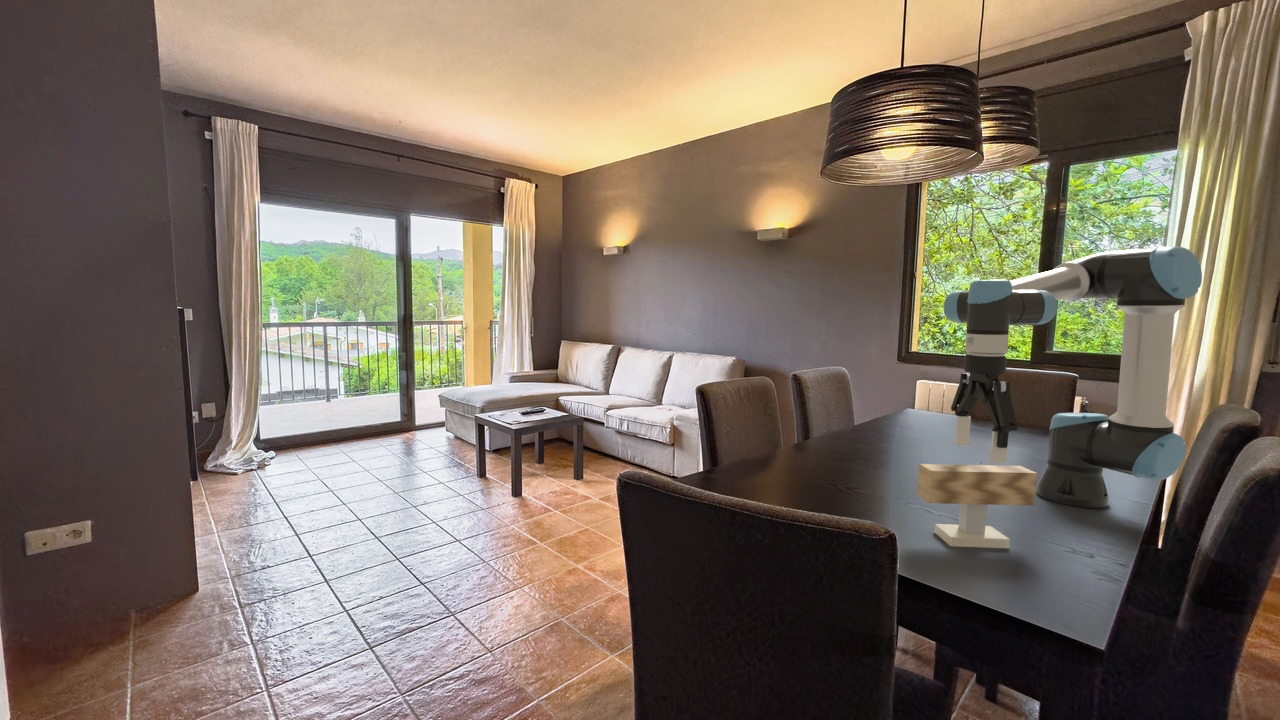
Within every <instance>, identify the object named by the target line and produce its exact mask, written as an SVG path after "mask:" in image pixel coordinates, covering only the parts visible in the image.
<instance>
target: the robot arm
mask: <svg viewBox="0 0 1280 720" xmlns="http://www.w3.org/2000/svg"><path fill="white" fill-rule="evenodd" d="M1202 281H1203V273H1202V266H1201V264H1200V261H1199V259H1198V258H1197V256H1195V254H1194V253H1193V252H1192V251H1191V250H1190V249H1188V248H1186V247H1183V246H1154V247H1145V248H1134V249H1123V250H1121V249H1120V250H1109V251H1104V252H1099V253H1095V254H1092V255H1091V254H1090V255H1087V256H1084V257H1080V258H1076V259H1073V260H1071V261H1066V262H1063V263H1061V264H1058V265H1057V266H1055V267H1054V268H1053V269H1052V270H1048V271H1044V272H1043V271H1042V272H1039V273H1036V274H1035V273H1034V274H1032V275H1028V276H1024V277H1020V278H1017V279H1016V278H1015V279H1013V280H1009V279H978V280H973V281H972V282H971V283H970V284H969V290H959V291H953V292H951V293H949V294H948V295H947V296H946V297H945V299H944V301H943V306H942V307H943V315H944V316H945V318H947V320H949V321H950V322H954V323H960V324H966V329H965V331H966V332H965V333H966V335H965V338H964V343H965V346H964V347H965V349H964V350H965V352H966V353H967V354H965V355H964V361H963V371H964V372H962V373H961V374H960V378H959V384H958V386H957V390H956V392H955V395H954V398H953V401H952V403H951V407H950V410H951V411H952V412H954V415H955V416H956V422H955V439H954V445H956V446H970V436H971V421H972V417H971V415H972V414H971V411H972V410H973V409H974V406H975V405H976V403H977V402H978V401H979V399H981V400H982V403H984V404H985V406H986V408H987V411H988V414H989V417H990V419H991V422H992V424H993V428H991V440H990V441H991V442H990V454H989V463H991V464H1007V455H1008V453H1007V452H1008V445H1009V433H1010V432H1012V431H1013V432H1016V431H1018V424H1017V418H1016V415H1015V411H1014V405H1013V402H1012V398H1011V397H1012V396H1011V383H1010V381H1008V380H1007V381H1005V380H1004V381H1003V380H1001V381H1000V378H999V377H1000V375H1004V374H1006V371H1007V361H1008V360H1007V357H1006V356H1005V355H1006V354H1007V353H1008V352H1009V351H1008V349H1009V333H1010V332H1009V330H1010V326H1032V327H1034V326H1035V327H1036V326H1038V325H1044V324H1047V323H1049V322H1050V321H1052V319H1053V318H1054V317H1055V316H1056V314H1057V311H1058V302H1057V301H1059V300H1063V301H1074V300H1079V299H1112V300H1113V299H1116V308H1117V309H1119V310H1120V311H1122V312H1123V314H1124V318H1123V330H1122V342H1121V343H1122V344H1121V357H1120V368H1119V380H1118V395H1117V406H1116V411H1115V412H1114V413H1113V414H1111V415H1110V416H1108V415H1107V414H1104V413H1092V412H1059V413H1055V414H1054V415H1053V416H1052V417H1051V421H1050V426H1049V434H1048V435H1049V438H1048V446H1047V459H1046V466H1045V468H1044V470H1043V472H1042V474H1041V475H1040V479H1039V480H1038V482H1036V490H1035V493H1036V494H1037V495H1038V496H1040V497H1042V498H1044V499H1046V500H1049V501H1052V502H1055V503H1059V504H1062V505H1065V506H1073V507H1078V508H1085V509H1087V508H1088V509H1102V508H1106V507H1108V505H1109V501H1110V495H1109V493H1108V489H1107V486H1106V484H1105V479H1104V476H1103V472H1104V470H1103V469H1107V470H1110V471H1113V472H1114V471H1115V472H1118V473H1120V474H1121V473H1122V474H1125V475H1126V474H1127V475H1129V476H1133V477H1135V478H1138V479H1145V480H1151V481H1164V480H1166V479H1168V478H1169V477H1171V476H1172V475H1173V474H1174V473H1176V471H1178V469H1179V468H1180V467H1181V465H1182V464H1183V461H1184V459H1185V456H1186V453H1187V444H1186V442H1185V439H1184V437H1182V436H1181V435H1179V434H1178V433H1174V428H1175V424H1174V422H1172V420H1171V419H1169V418H1168V417H1167V415H1166V414H1167V407H1168V406H1167V405H1168V394H1169V384H1170V382H1169V381H1170V371H1171V358H1172V349H1173V348H1172V347H1173V338H1174V337H1173V336H1174V324H1175V315H1176V314H1177V312H1178V311H1180V310H1181V309H1183V308H1185V306H1186V303H1185V302H1186V299H1187V300H1188V299H1189V298H1192V297H1194V296H1195V295H1196V294H1197V293H1198V292H1199V288H1201V286H1202Z"/></svg>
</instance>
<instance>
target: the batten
mask: <svg viewBox="0 0 1280 720" xmlns="http://www.w3.org/2000/svg"><path fill="white" fill-rule="evenodd" d="M918 465H919V466H918V467H919V468H918V481H917V482H918V483H917V492H916V493H917V494H916V495H917V496H918V497H920V498H921V499H922V500H923V501H925V502H927V503H928V504H943V505H944V504H945V505H947V504H948V505H949V504H950V505H951V504H954V505H960V504H987V505H989V506H990V505H997V506H999V505H1001V506H1003V505H1004V506H1035V499H1036V489H1037V479H1038V473H1037V472H1036V471H1033V470H1031V469H1029V468H1026V467H1024V466H1021V465H993V464H992V465H988V464H985V465H983V464H941V463H939V464H935V463H934V464H933V463H931V464H930V463H919V464H918Z"/></svg>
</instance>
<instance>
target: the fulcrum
mask: <svg viewBox="0 0 1280 720" xmlns="http://www.w3.org/2000/svg"><path fill="white" fill-rule="evenodd" d="M987 511H988V504H959V512H958V514H959V515H958V524H950V523H949V524H948V523H947V524H946V523H945V524H944V523H935V524H934V531H933V532H934V533H935V534H936V535H937V536H938V537H939V538H940V539H941V540H942V541H944V542H945V544H947V545H948V546H950V547H959V548H960V547H962V548H963V547H964V548H987V549H1010V541H1011V540H1010V538H1008V537H1007V536H1006V535H1004V534H1003V533H1002V532H1000V531H998V530H997V529H995V528H994V527H993V526H991V525H987V524H986V523H987Z"/></svg>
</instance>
